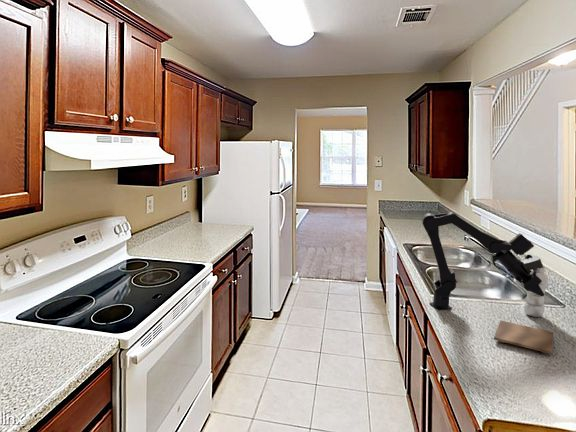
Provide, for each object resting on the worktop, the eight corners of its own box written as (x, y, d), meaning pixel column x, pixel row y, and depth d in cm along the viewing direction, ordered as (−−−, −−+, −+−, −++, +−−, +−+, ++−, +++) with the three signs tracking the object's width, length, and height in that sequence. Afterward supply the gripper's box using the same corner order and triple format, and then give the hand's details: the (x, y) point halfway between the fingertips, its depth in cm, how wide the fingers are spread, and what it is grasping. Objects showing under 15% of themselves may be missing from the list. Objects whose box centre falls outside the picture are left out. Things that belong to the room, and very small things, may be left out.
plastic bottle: (524, 310, 152) (529, 262, 149) (544, 315, 148) (550, 266, 145) (522, 316, 147) (527, 266, 144) (542, 320, 143) (548, 269, 140)
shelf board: (493, 342, 126) (494, 337, 126) (500, 325, 139) (500, 320, 139) (551, 357, 117) (552, 351, 117) (552, 337, 130) (553, 332, 129)
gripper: (538, 255, 135) (570, 288, 134) (520, 244, 153) (548, 272, 152) (511, 275, 139) (542, 306, 138) (497, 261, 156) (524, 289, 155)
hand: (540, 292), depth 146 cm, fingers open, 6 cm apart
